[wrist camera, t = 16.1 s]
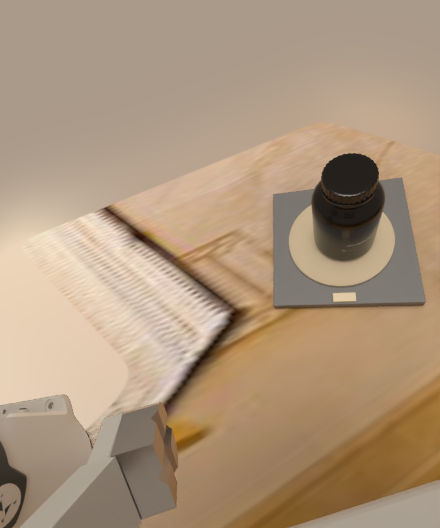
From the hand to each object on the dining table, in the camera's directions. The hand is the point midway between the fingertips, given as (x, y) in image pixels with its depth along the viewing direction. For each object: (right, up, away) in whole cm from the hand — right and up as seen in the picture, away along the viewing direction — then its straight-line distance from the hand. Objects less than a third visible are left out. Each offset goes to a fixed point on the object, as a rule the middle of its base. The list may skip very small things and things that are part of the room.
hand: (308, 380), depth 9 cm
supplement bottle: (+12, +6, +30) cm, 33 cm away
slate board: (+12, +6, +31) cm, 34 cm away
